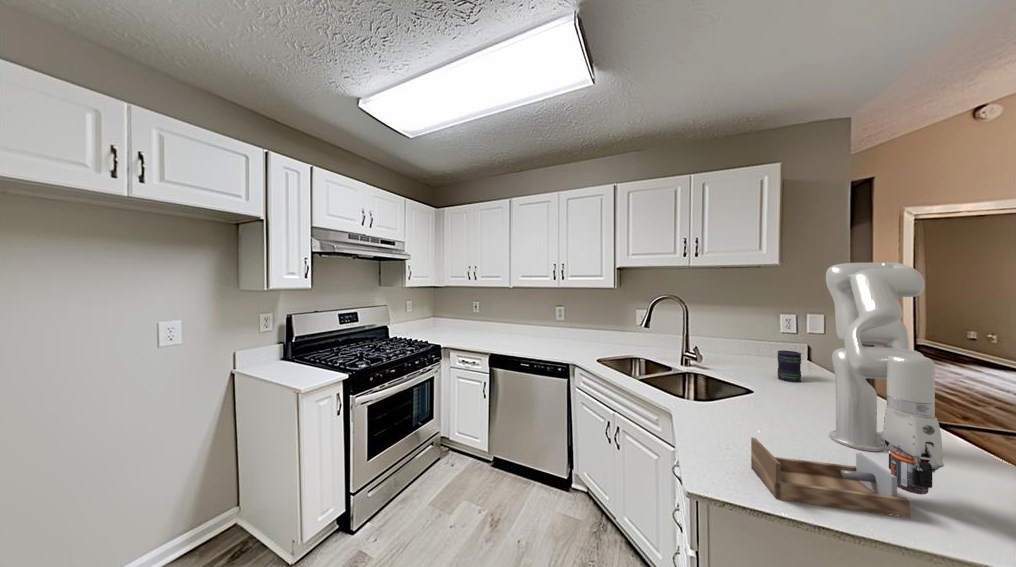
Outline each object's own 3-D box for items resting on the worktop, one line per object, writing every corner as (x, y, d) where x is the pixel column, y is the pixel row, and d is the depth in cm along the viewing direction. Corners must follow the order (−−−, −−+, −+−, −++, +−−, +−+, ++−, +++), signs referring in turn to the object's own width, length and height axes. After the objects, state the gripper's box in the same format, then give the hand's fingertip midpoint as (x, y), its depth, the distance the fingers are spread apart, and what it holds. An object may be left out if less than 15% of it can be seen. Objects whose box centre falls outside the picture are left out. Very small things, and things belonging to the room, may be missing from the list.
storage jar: (799, 383, 172) (799, 355, 171) (775, 379, 179) (775, 352, 179) (803, 380, 178) (803, 352, 178) (779, 376, 185) (779, 349, 185)
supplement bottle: (887, 477, 86) (887, 434, 85) (923, 486, 82) (923, 441, 82) (894, 489, 81) (894, 443, 81) (932, 499, 77) (932, 451, 77)
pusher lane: (862, 481, 89) (862, 448, 89) (909, 517, 76) (909, 478, 76) (751, 468, 96) (751, 437, 96) (775, 498, 83) (775, 463, 83)
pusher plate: (860, 479, 88) (860, 453, 88) (897, 507, 78) (897, 477, 77) (828, 475, 90) (828, 449, 90) (859, 502, 79) (859, 473, 79)
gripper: (968, 421, 72) (967, 503, 72) (898, 394, 88) (898, 461, 89) (923, 418, 74) (922, 498, 74) (863, 392, 90) (863, 457, 91)
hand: (909, 477), depth 81 cm, fingers closed on supplement bottle, 6 cm apart
